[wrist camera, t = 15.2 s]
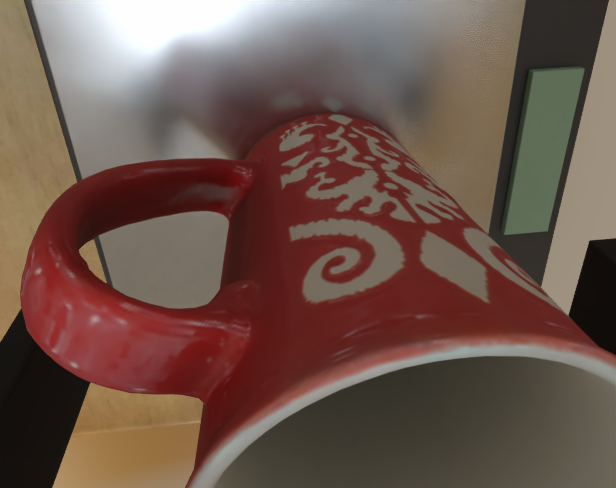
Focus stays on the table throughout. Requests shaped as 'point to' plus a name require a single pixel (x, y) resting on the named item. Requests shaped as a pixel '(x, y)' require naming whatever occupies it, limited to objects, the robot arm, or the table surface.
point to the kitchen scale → (320, 105)
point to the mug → (333, 324)
